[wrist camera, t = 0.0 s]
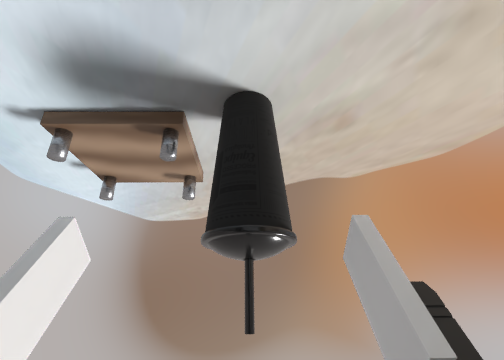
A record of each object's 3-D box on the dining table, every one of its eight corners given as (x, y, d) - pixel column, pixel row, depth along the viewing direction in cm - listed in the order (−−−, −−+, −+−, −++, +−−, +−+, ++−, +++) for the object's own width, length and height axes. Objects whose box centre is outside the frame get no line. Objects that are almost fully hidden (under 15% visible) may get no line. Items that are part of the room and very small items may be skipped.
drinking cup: (224, 134, 33) (218, 330, 25) (196, 89, 26) (174, 337, 18) (291, 123, 31) (308, 330, 23) (278, 72, 24) (297, 338, 16)
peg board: (44, 111, 29) (30, 150, 27) (183, 111, 29) (179, 149, 27) (106, 173, 41) (100, 202, 40) (203, 172, 42) (201, 201, 40)
